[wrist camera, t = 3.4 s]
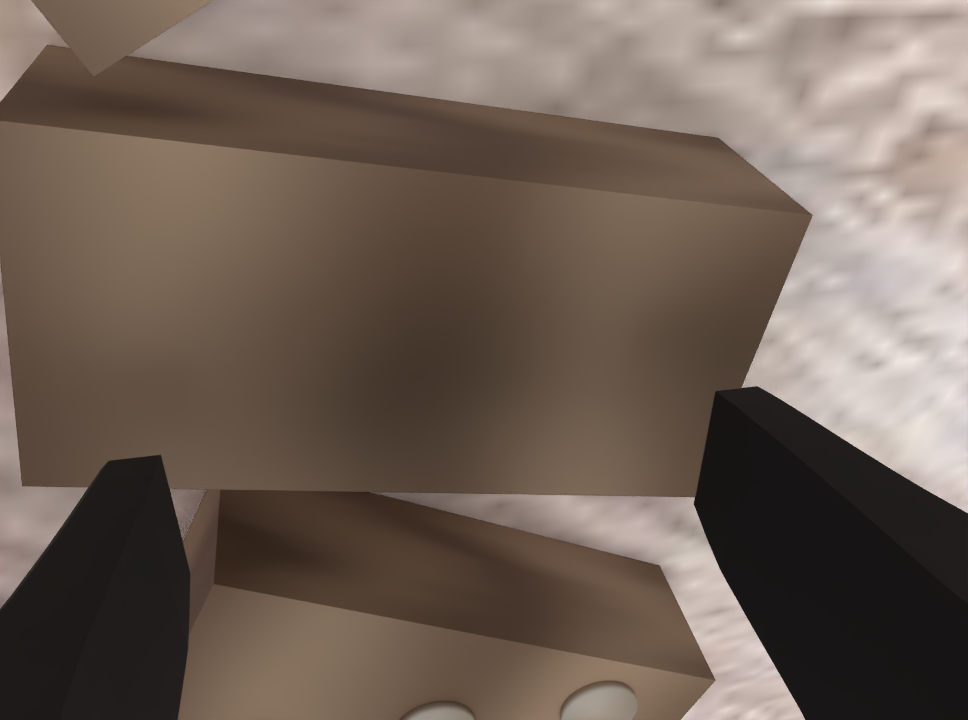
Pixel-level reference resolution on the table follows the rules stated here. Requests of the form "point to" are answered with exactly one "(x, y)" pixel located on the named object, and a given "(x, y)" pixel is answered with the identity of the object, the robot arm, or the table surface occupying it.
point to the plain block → (369, 286)
